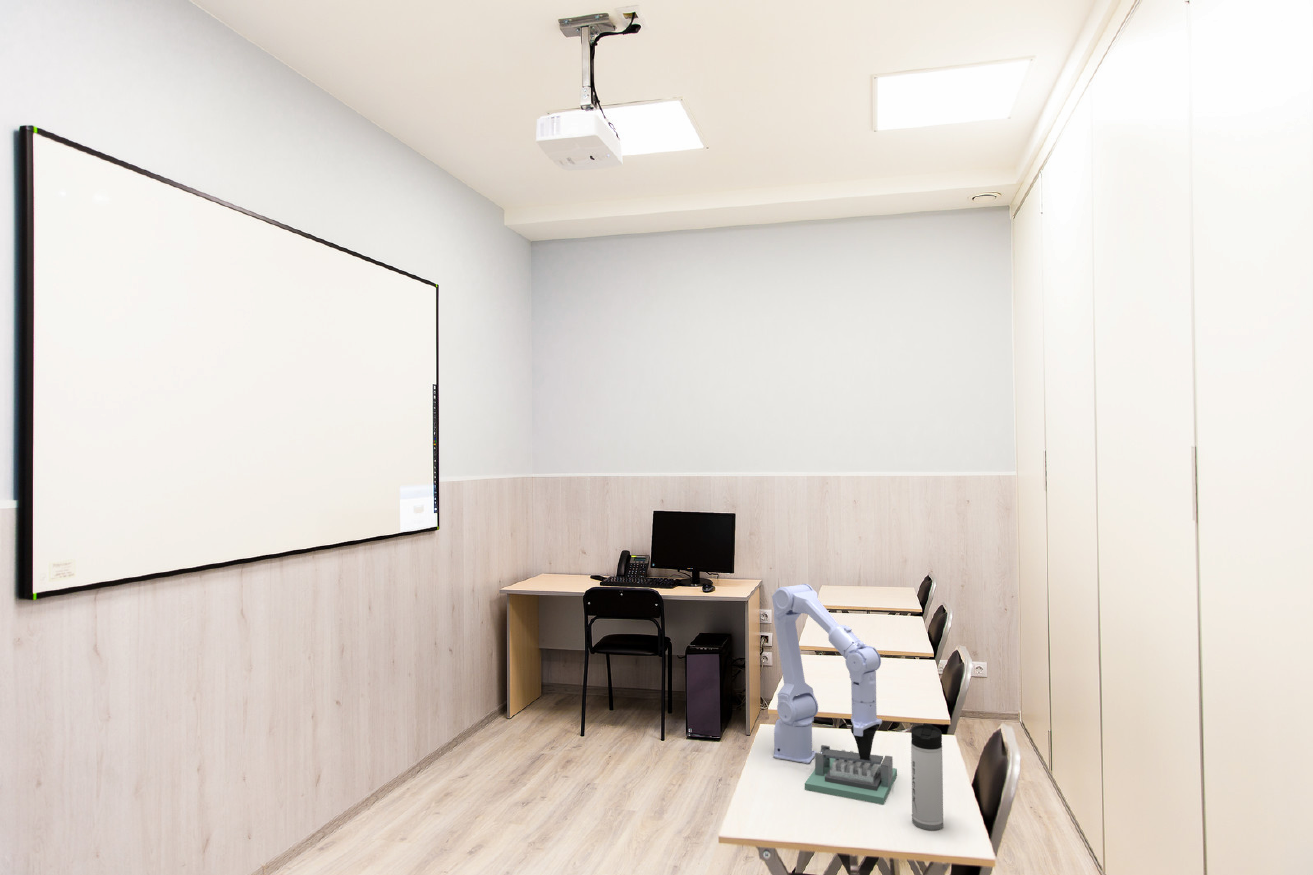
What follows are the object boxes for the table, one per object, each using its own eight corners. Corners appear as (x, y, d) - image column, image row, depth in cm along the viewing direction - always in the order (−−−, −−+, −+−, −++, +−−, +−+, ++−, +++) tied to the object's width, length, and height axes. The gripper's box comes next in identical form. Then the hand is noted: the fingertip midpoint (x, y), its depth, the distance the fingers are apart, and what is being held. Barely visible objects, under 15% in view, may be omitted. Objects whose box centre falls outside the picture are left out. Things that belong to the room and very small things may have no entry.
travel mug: (944, 819, 167) (943, 725, 167) (941, 833, 161) (940, 735, 161) (914, 814, 170) (913, 721, 170) (910, 827, 164) (909, 731, 164)
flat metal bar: (818, 757, 188) (818, 753, 188) (822, 751, 191) (822, 747, 191) (880, 765, 181) (879, 761, 181) (883, 759, 185) (882, 755, 185)
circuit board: (804, 789, 182) (804, 778, 182) (823, 762, 198) (823, 752, 198) (883, 804, 174) (883, 793, 174) (896, 774, 190) (896, 764, 190)
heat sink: (813, 777, 185) (813, 756, 185) (823, 762, 194) (823, 742, 194) (886, 790, 178) (886, 768, 178) (894, 774, 187) (893, 753, 187)
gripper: (875, 710, 177) (876, 771, 177) (886, 693, 190) (887, 749, 190) (844, 706, 180) (845, 765, 180) (857, 689, 193) (858, 745, 193)
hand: (864, 757), depth 185 cm, fingers closed, pressing on flat metal bar
